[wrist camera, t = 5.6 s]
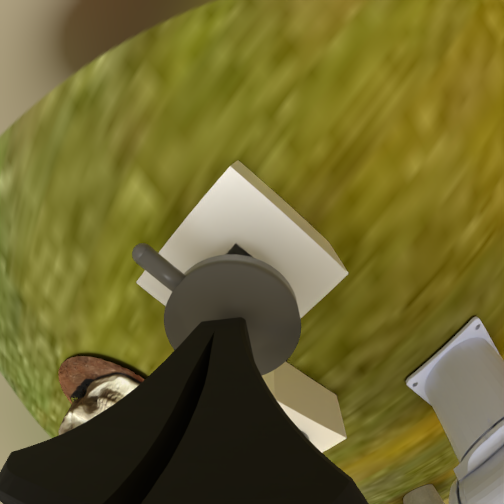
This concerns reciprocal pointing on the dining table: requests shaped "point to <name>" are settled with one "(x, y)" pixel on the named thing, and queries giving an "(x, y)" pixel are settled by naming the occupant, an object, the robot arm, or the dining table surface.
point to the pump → (229, 301)
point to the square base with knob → (252, 238)
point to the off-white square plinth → (307, 405)
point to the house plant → (423, 496)
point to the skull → (93, 387)
